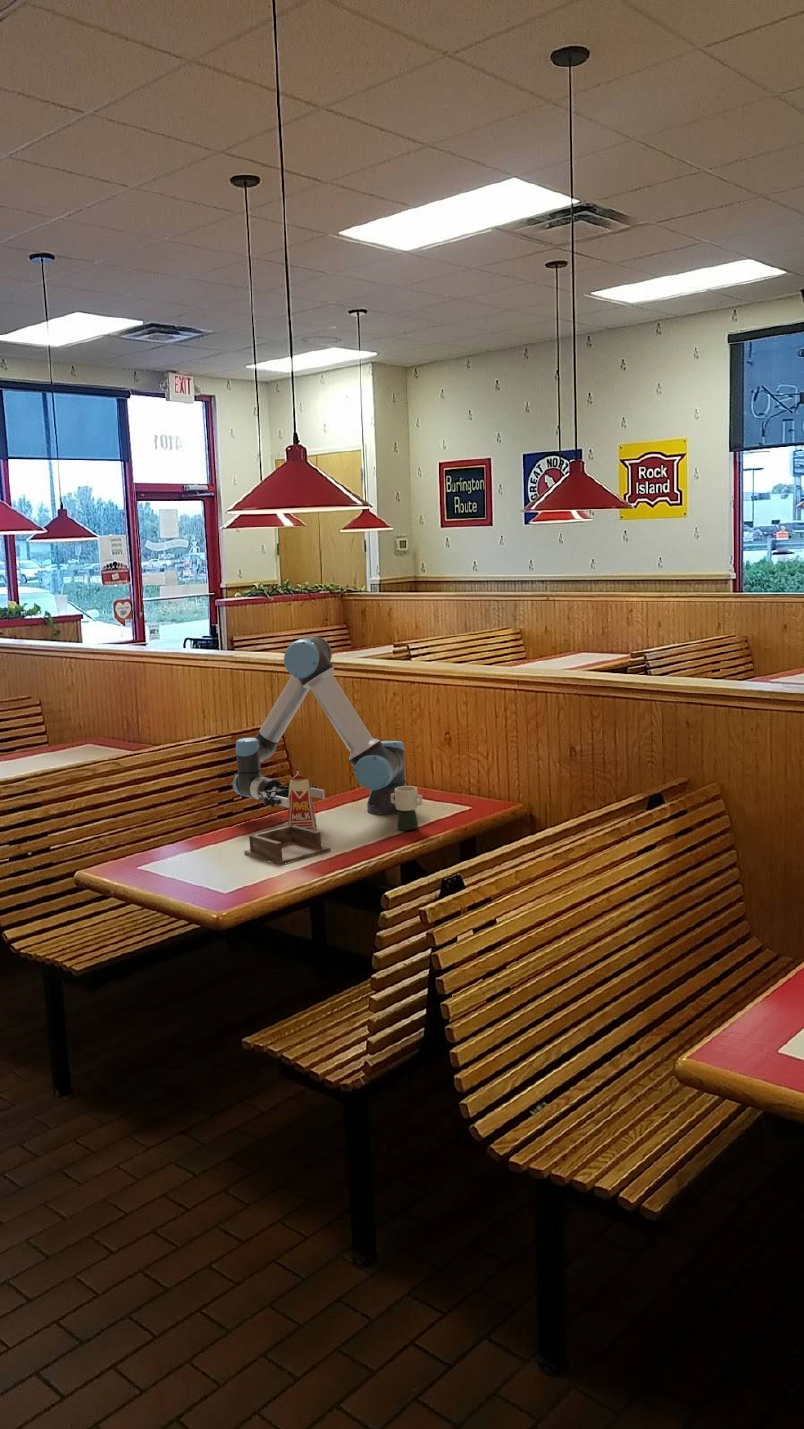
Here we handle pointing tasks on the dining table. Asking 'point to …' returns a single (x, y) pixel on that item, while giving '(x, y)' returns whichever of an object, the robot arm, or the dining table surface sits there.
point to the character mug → (406, 806)
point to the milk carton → (301, 804)
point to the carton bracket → (286, 844)
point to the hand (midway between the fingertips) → (306, 798)
